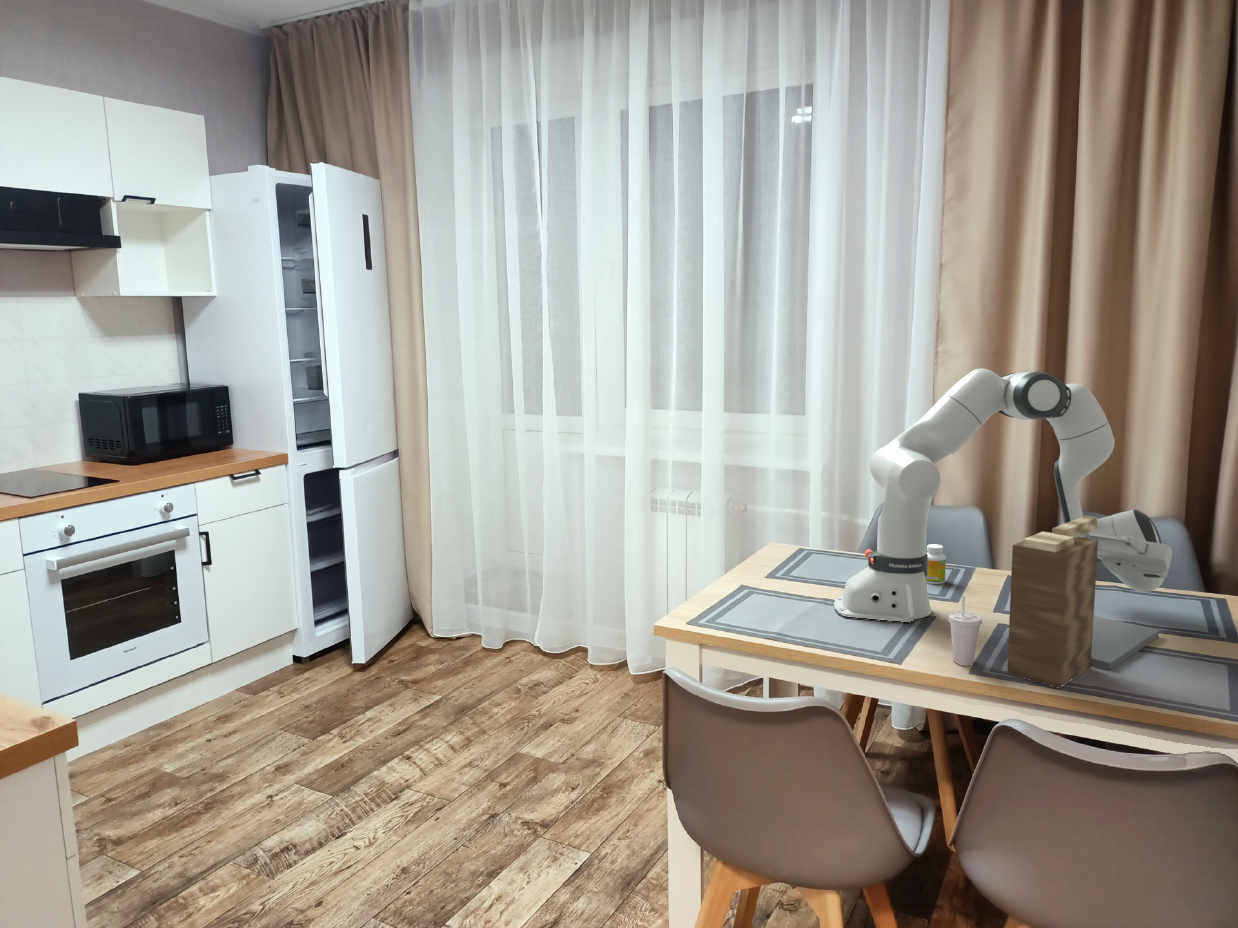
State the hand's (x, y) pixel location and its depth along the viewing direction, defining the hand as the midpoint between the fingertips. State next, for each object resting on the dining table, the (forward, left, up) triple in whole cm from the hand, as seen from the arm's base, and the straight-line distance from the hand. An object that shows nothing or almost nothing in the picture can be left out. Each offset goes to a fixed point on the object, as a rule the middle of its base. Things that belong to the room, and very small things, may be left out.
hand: (1105, 537), depth 187 cm
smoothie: (-31, -15, -23) cm, 41 cm away
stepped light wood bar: (-13, -15, +3) cm, 20 cm away
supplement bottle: (-27, +41, -23) cm, 54 cm away
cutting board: (-2, -2, -23) cm, 23 cm away
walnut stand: (-15, -18, -23) cm, 33 cm away
